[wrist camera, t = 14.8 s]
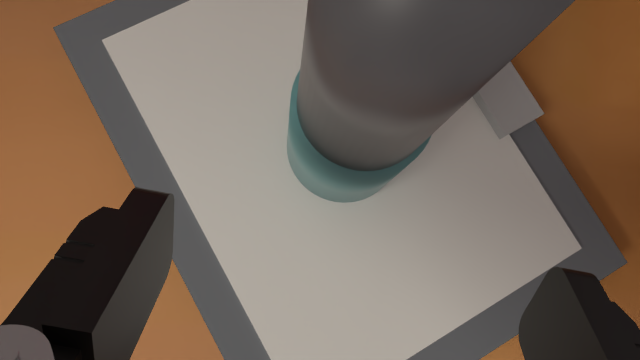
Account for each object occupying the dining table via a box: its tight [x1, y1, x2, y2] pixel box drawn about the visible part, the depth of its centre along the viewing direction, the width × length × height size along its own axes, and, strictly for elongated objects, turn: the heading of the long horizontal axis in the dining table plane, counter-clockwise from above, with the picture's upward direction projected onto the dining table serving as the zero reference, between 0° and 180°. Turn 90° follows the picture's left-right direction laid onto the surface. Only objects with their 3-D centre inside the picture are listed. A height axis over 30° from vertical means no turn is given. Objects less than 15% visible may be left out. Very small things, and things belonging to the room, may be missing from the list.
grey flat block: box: [53, 0, 627, 360], centre depth 21 cm, size 20×16×2 cm
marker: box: [287, 0, 575, 203], centre depth 13 cm, size 5×5×16 cm
